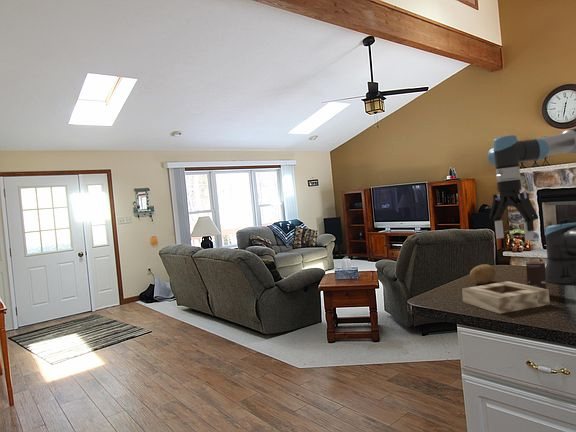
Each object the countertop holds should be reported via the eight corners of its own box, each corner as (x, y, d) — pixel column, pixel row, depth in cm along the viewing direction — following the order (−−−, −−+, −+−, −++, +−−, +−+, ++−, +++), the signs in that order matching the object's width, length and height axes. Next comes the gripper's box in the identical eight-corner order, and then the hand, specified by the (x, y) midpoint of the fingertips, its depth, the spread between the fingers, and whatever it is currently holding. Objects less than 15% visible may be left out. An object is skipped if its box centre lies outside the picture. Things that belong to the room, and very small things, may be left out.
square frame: (509, 294, 159) (508, 281, 159) (549, 304, 142) (548, 289, 142) (463, 302, 154) (461, 288, 154) (499, 313, 137) (498, 298, 137)
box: (528, 296, 155) (525, 263, 154) (528, 293, 159) (525, 261, 158) (547, 296, 152) (545, 263, 151) (547, 293, 156) (544, 261, 155)
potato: (499, 280, 184) (497, 262, 184) (492, 287, 173) (491, 267, 172) (475, 279, 190) (473, 261, 190) (467, 286, 178) (466, 267, 178)
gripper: (475, 183, 162) (481, 238, 163) (527, 178, 138) (534, 243, 139) (492, 181, 164) (497, 236, 165) (546, 176, 140) (552, 240, 141)
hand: (514, 239), depth 152 cm, fingers open, 13 cm apart
